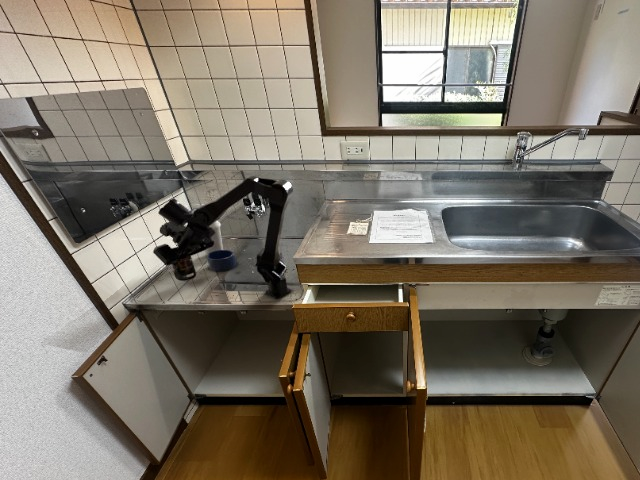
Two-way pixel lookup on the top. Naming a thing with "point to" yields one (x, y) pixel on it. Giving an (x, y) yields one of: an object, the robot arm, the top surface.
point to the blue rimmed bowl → (221, 260)
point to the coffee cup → (215, 238)
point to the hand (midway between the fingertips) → (178, 259)
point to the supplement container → (184, 268)
